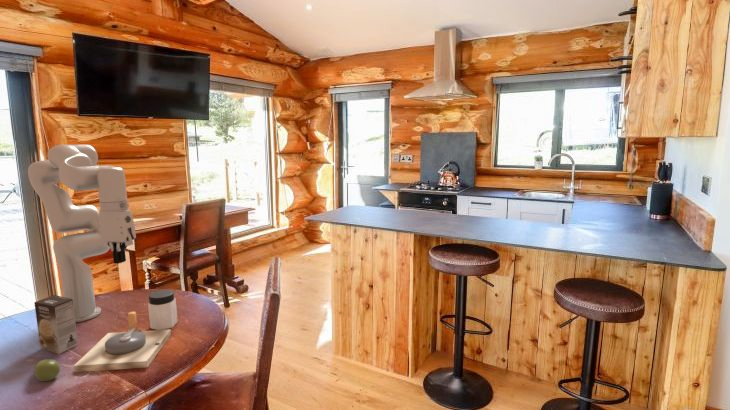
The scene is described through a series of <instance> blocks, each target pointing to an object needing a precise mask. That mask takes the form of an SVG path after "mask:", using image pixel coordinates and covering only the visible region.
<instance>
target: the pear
mask: <svg viewBox="0 0 730 410" xmlns="http://www.w3.org/2000/svg"><path fill="white" fill-rule="evenodd" d="M60 365H61V364H60V363H59V362H58V361H57V360H56V359H47V358H46V359H42V360H39V361H38V362H37V363H36V364H35V365H34V369H33V373H34V376H35V378H36V379H37V380H39V381H40V382H49V381H52V380H54V379H55V378H57V377H58V375H59V373H60V371H61V366H60Z"/></svg>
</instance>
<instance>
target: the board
mask: <svg viewBox="0 0 730 410" xmlns="http://www.w3.org/2000/svg"><path fill="white" fill-rule="evenodd" d="M171 329H172V328H169V329H164V330H155V329H152V330H140V329H139V330H138V331H139V332H143V333H144V334H145V337H146V343H145V345H144V346H142V347H141V348H139V349H137V350H135V351H133V352H130V353H126V354H119V355H112V354H108V353H107V352H106V350H105V342H106V341H107V340H108V339H110V338H111V337H113V336H115V335H118V334H121V333H125V332H126V331H121V332H120V331H119V332H117V331H116V332H107V333H106V335H104V337H102V338H101V339H100V340H99V341H98V342H97V343H96V344H95V345H94V346H93V347H91V349H89V351H88V352H86V354H84V355H83V356H82V357H81V358H80V359H79V360H78V361H77V362H76V363H75V364H74V365H73V372H74V373H80V372H82V373H83V372H95V371H96V372H97V371H98V372H99V371H110V370H111V371H112V370H127V369H143V368H144V369H145V368H149V366H150V365H151V364H152V362H153V361H154V360H155V358H156V356H157V355H158V354H159V353H160V350H161V349H162V348H163V347H164V345H165V344H166V343H167V342H168V340H169V338H170V337H171V335H172V331H171Z"/></svg>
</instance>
